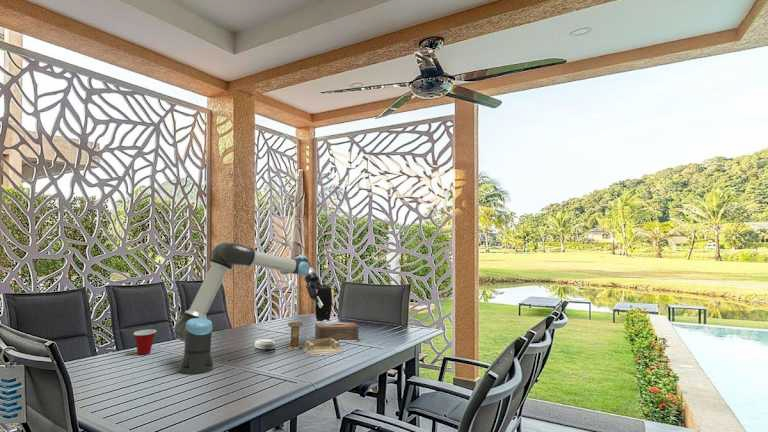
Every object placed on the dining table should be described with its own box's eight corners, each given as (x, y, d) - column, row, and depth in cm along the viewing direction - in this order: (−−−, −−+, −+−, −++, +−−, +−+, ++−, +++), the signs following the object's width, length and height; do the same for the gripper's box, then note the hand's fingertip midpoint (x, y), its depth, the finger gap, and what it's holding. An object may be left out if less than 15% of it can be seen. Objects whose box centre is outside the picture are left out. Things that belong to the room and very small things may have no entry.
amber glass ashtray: (343, 354, 236) (343, 344, 236) (310, 357, 227) (311, 346, 228) (333, 346, 252) (333, 337, 252) (302, 349, 243) (302, 339, 244)
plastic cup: (127, 354, 221) (129, 331, 222) (146, 350, 231) (148, 328, 232) (139, 357, 216) (141, 334, 217) (159, 353, 226) (160, 330, 227)
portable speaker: (331, 321, 239) (333, 287, 241) (315, 321, 237) (317, 287, 238) (329, 319, 247) (331, 286, 249) (314, 319, 245) (315, 285, 246)
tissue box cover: (352, 337, 282) (353, 322, 283) (358, 341, 269) (358, 326, 269) (314, 338, 274) (315, 323, 275) (318, 343, 261) (319, 327, 261)
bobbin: (303, 348, 244) (304, 324, 246) (288, 350, 241) (290, 324, 242) (299, 345, 252) (300, 321, 253) (285, 346, 248) (286, 322, 249)
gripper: (320, 279, 261) (337, 308, 250) (293, 281, 245) (310, 311, 234) (326, 271, 259) (343, 300, 247) (299, 272, 242) (317, 303, 231)
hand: (327, 305), depth 241 cm, fingers closed on portable speaker, 9 cm apart
